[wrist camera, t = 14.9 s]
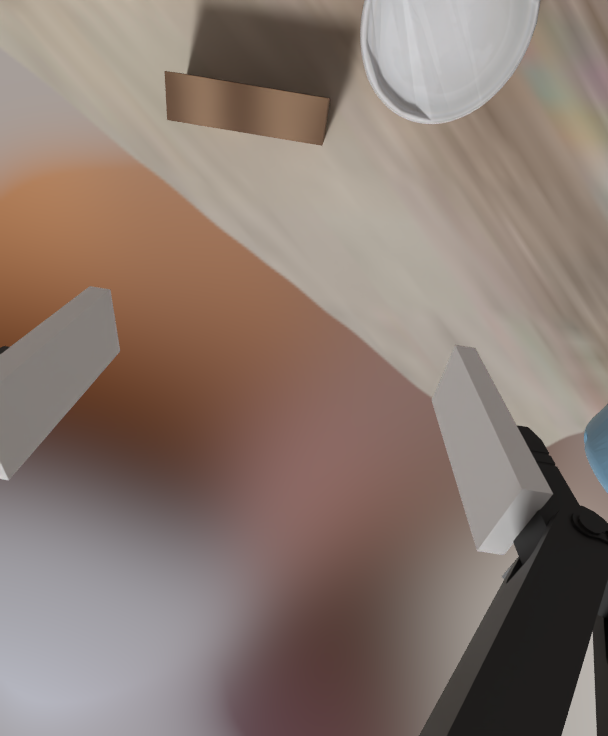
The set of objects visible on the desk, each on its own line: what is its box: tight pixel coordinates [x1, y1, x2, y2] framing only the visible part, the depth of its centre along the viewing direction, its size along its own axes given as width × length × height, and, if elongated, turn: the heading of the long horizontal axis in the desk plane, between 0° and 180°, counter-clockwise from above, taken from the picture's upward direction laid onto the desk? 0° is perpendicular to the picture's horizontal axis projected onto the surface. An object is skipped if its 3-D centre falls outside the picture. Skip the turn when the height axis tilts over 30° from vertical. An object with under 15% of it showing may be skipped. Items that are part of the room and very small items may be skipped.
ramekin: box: [360, 0, 540, 124], centre depth 28 cm, size 11×11×5 cm
